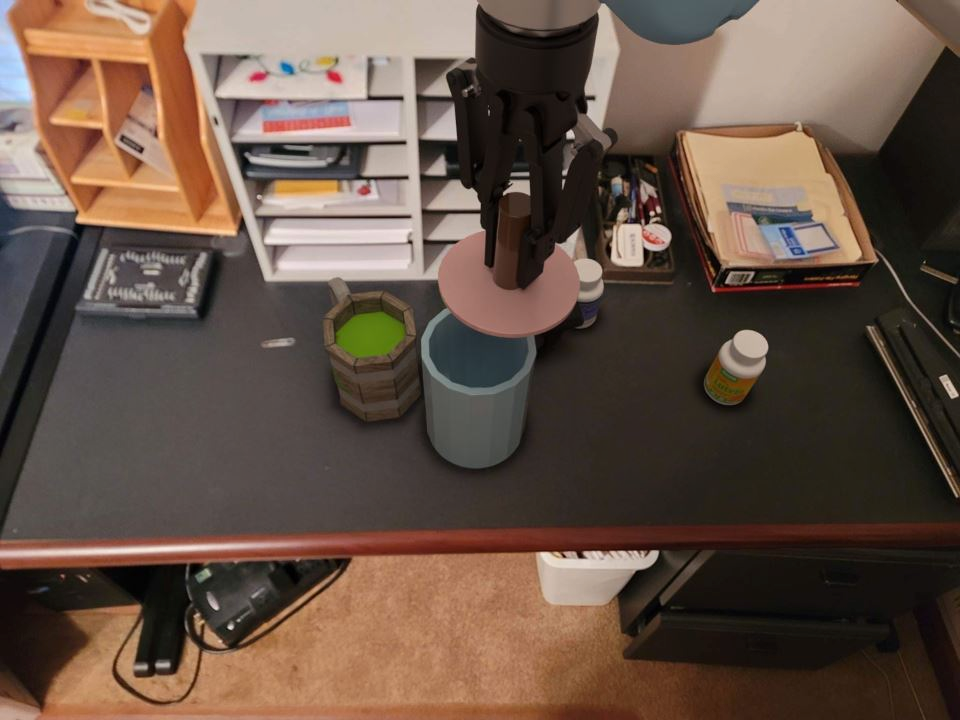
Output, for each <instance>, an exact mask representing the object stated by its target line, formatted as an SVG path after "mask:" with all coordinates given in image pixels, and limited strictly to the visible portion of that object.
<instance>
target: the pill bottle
mask: <svg viewBox="0 0 960 720" xmlns="http://www.w3.org/2000/svg"><path fill="white" fill-rule="evenodd" d="M573 262H574V264H575V266H576V268H577V271H578V274H579V279H580V291H579V296H578V300H577V302H578V304H579V306H580V308H581V311H582V313H583V317H584V323H583V325H582V326H579V327H576V328H575V329H585V328H588V327H590V326H592V325H593V324H594V323H595V321H596V320H597V318H598V313H599V309H600V305H601V302H602V298H603V295H604V289H605V286H604V284H605V283H604V281H603V279H602V277H603V268H602V265H601V264H600V263H599V262H598V261H596V260H593V259H591V258H585V257H584V258H579V259H576V260H575V261H573Z"/></svg>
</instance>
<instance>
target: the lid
mask: <svg viewBox="0 0 960 720" xmlns="http://www.w3.org/2000/svg"><path fill="white" fill-rule="evenodd" d="M530 225H531V205H530V194H528V193H525V192H522V191H510V192H506V193H505V194H503V196H502V197H501V199H500V200H499V204H498V216H497V228H496V240H495V251H494V263H493V267H492V268H491V269H490V268H489V267H487V266H486V265H484V260H485V237H486V230H481V231H478V232H475V233H472V234H470V235H467V236H465V237H464V238H462V239H460V240H459V241H457V242H456V243H455V244H454V245H453V246H452V247H450V248H449V250H448V251H447V252H446V253H445V255H444V256H443V258H442V259H441V261H440V264H439V267H438V272H437V273H438V274H437V287H438V292H439V294H440V297H441V298H440V299H441V300H442V302H443V304H444V305H445V308H448V309H449V311H450V312H451V313H452V314H453V315H454V316H455V317H456V318H457V319H458V320H460V321H461V322H462V323H464V324H465V325H467V326H469V327H470V328H473V329H475V330H477V331H479V332H482V333H485V334H488V335H493V336H497V337H506V338H520V337H528V336H533V335H537V334H540V333H543V332H546V331H548V330H550V329H552V328H554V327H555V326H557V325H559V324H560V323H561V322H562V321H564V320H565V319H566V318H567V317H568V315H569V314H570V313H571V312H572V310H573V309H574V307H575V305H576V302H577V300H578V296H579V291H580V279H579V274H578V271H577V268H576V266H575V264H574V262H575V261H573V259H572V258H571V256H570V255H569V254H568V253H567V252H566V250H564V249H563V248H562V247H560V245H559V244H558V243H555V249H554V253H553V254H552V255H551V256H550V257H549V258H548V259H547V260H546V261H545V262H544V269H543V273H542V274H541V275H540V276H539V277H538V278H536V279H535V280H534V281H533V282H532V283H531V284H530V285H529V286H528V287H527V288H526V289H525V290H523V289H521V288H520V287H518V286H517V281H518V271H519V262H520V252H521V242H522V232H523V231H524V230H525V229H526V228H527V227H528V226H530Z"/></svg>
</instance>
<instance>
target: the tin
mask: <svg viewBox="0 0 960 720" xmlns="http://www.w3.org/2000/svg"><path fill="white" fill-rule="evenodd" d="M420 349H421V350H420V352H421V367H422V380H423V393H424V406H425V420H426V432H427V436H428V439H429V441H430V443H431V445H432V446H433V448H434V450H435V451H436V452H437V454H439V455H440V456H441V457H442V458H443V459H445V460H446V461H448V462H450V463H451V464H453V465H456V466H459V467H461V468H467V469H484V468H485V469H486V468H489V467H493V466H495V465H496V466H497V465H498V464H501V463H502V462H504V461H505V460H507V459H508V458H509V457H511V456H512V455H513V454H514V453H515V451H516V450H517V448H518V447H519V445H520V443H521V440H522V437H523V433H524V431H525V427H526V421H527V414H528V408H529V403H530V395H531V391H532V390H531V389H532V383H533V377H534V371H535V366H536V365H535V364H536V359H537V357H536V345H535V338H534V335H533V336H528V337H520V338H506V337H497V336H493V335H488V334H485V333H482V332H479V331H477V330H475V329H473V328H470V327H469V326H467V325H465V324H464V323H462V322H461V321H460V320H458V319H457V318H456V317H455V316H454V315H453V314H452V313H451V312H450V311H449V309H448V308H447V307H445V308H444V309H443V310H441V311H440V312H439V313H438V314H437V315H436V316H434V317H433V318H432V319H431V320H430V321H429V322H428V324H427V326H426V328H425V330H424V332H423V334H422V336H421V338H420Z"/></svg>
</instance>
